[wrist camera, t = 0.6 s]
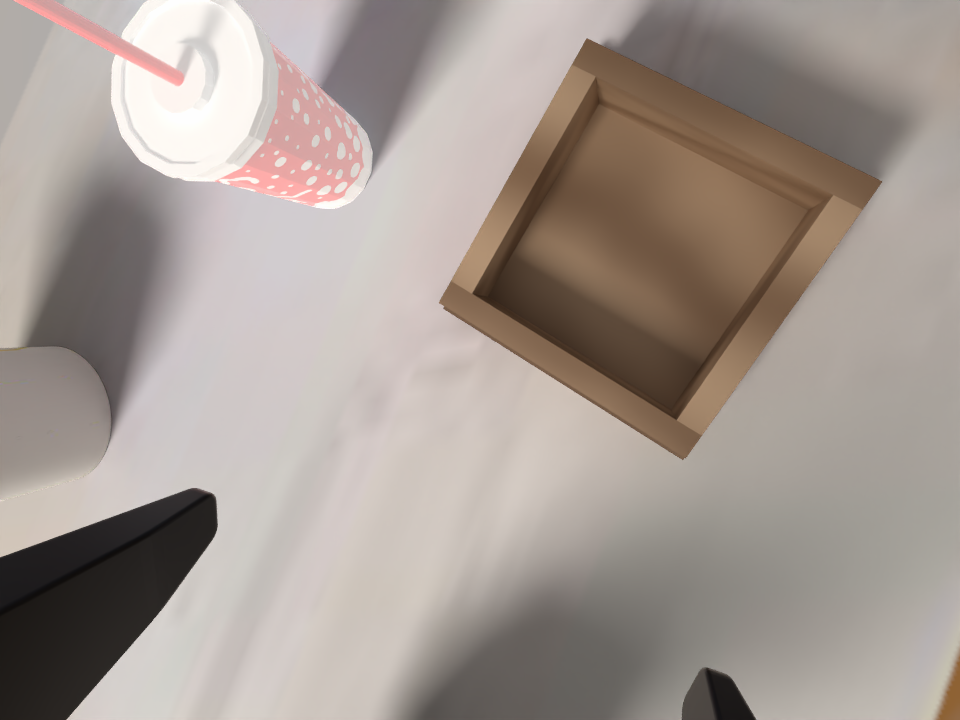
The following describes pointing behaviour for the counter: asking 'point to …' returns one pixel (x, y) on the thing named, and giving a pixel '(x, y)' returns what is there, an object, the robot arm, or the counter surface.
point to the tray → (651, 245)
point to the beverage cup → (224, 103)
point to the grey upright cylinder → (49, 419)
